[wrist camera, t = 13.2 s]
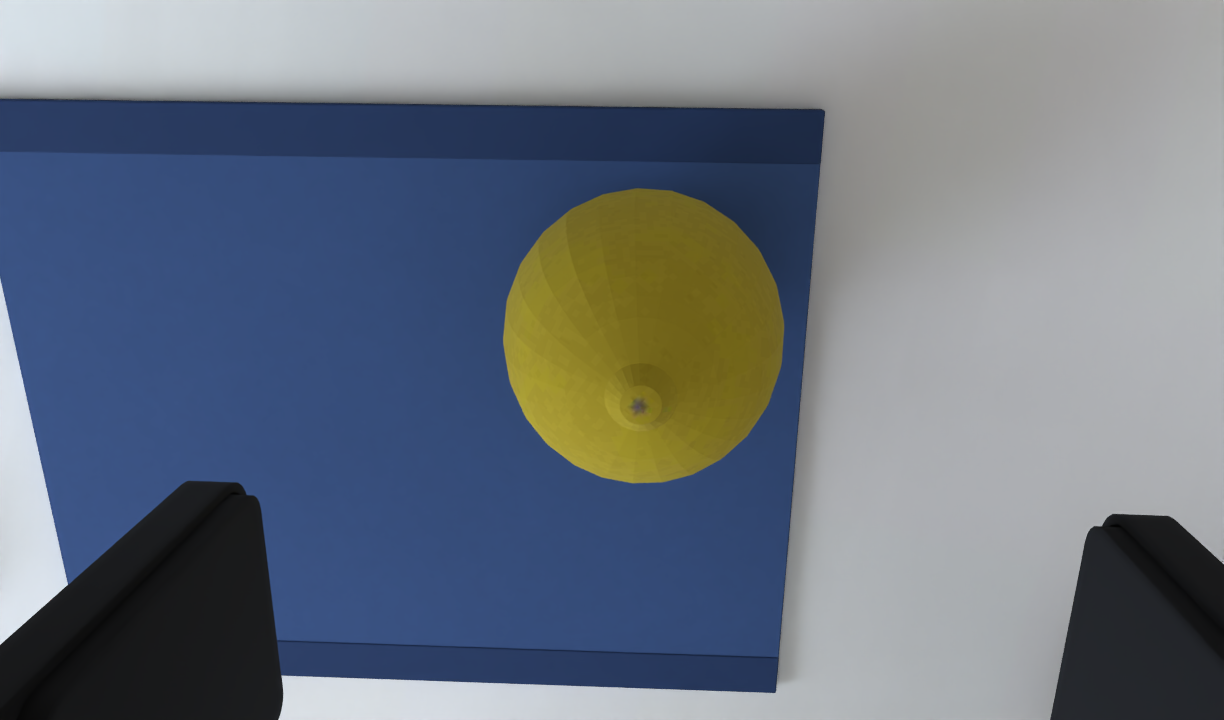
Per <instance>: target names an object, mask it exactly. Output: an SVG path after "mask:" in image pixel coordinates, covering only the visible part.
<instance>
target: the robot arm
mask: <svg viewBox="0 0 1224 720" xmlns="http://www.w3.org/2000/svg"><path fill="white" fill-rule="evenodd" d="M282 702H283V686H282V677H281V669H280V661H279V653H278V644H277V636H276V628H275V620H274V611H273V603H272V595H271V586H270V578H269V570H268V562H267V553H266V545H265V537H264V529H263V520H262V512H261V507H260V503H259V501H258V499H257V497H255V496H254V495H246V492H245V490H244V488H243V486H242V485H241V484H239V483H238V482H212V481H186V482H185V483H183V484H181V485H180V486H179V487H178V488H177V489H176V490H175V491H173V492H172V493H171V494H170V495H169V496H168V497H167V498H166V499H164V500H163V501H162V502H161V503H160V504H159V505H158V506H157V507H155V508H154V509H153V510H152V511H151V512H150V513H149V514H148V515H146V516H145V517H144V518H143V519H142V520H141V521H140V522H138V523H137V524H136V525H135V526H134V527H133V528H132V529H131V530H129V531H128V532H127V533H126V534H125V535H124V536H123V537H122V538H120V539H119V540H118V541H117V542H116V543H115V544H114V545H113V546H111V547H110V548H109V549H108V550H107V551H106V552H105V553H103V554H102V555H101V556H100V557H99V558H98V559H97V560H96V561H94V562H93V563H92V564H91V565H90V566H89V567H88V568H87V569H85V570H84V571H83V572H82V573H81V574H80V575H79V576H78V577H76V578H75V579H74V580H73V581H72V582H71V583H70V584H69V585H67V586H66V587H65V588H64V589H63V590H62V591H61V592H59V593H58V594H57V595H56V596H55V597H54V598H53V599H52V600H50V601H49V602H48V603H47V604H46V605H45V606H44V607H43V608H41V609H40V610H39V611H38V612H37V613H36V614H35V615H34V616H32V617H31V618H30V619H29V620H28V621H27V622H26V623H24V624H23V625H22V626H21V627H20V628H19V629H18V630H17V631H15V632H14V633H13V634H12V635H11V636H10V637H9V638H8V639H6V640H5V641H4V642H3V643H2V644H1V645H0V720H278V719H279V716H280V713H281V708H282ZM1050 720H1224V564H1223V563H1221V562H1220V561H1219V560H1218V559H1217V558H1216V557H1215V556H1214V555H1213V554H1212V553H1211V552H1209V551H1208V550H1207V549H1206V548H1205V547H1204V546H1203V545H1202V544H1201V543H1200V542H1199V541H1198V540H1196V539H1195V538H1194V537H1193V536H1192V535H1191V534H1190V533H1189V532H1188V531H1187V530H1186V529H1184V528H1183V527H1182V526H1181V525H1180V524H1179V523H1178V522H1177V521H1176V520H1174V519H1173V518H1171V517H1169V516H1154V515H1126V514H1112V515H1110V516H1109V517H1107V519H1106V520H1105V522H1104V523H1103V525H1102V527H1099V526H1094V527H1093V528H1091V529H1090V531H1089V532H1088V534H1087V537H1086V541H1085V545H1084V550H1083V556H1082V561H1081V566H1080V571H1079V576H1078V581H1077V586H1076V591H1075V597H1074V602H1073V607H1072V612H1071V617H1070V622H1069V627H1068V632H1067V638H1066V643H1065V648H1064V653H1063V658H1062V663H1061V668H1060V673H1059V679H1058V684H1057V689H1056V694H1055V699H1054V704H1053V709H1052V714H1051V719H1050Z"/></svg>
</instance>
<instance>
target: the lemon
mask: <svg viewBox="0 0 1224 720" xmlns="http://www.w3.org/2000/svg"><path fill="white" fill-rule="evenodd" d="M783 338H784V320H783V314H782V309H781V304H780V299H779V294H778V289H777V285H776V282H775V280H774V278H773V276H772V274H771V272H770V270H769V268H768V266H767V264H766V262H765V260H764V258H763V256H762V254H761V252H760V251H759V249H758V248H757V247H756V246H755V244H754V243H753V242H752V241H751V240H750V239H749V238H748V237H747V235H746V234H745V233H744V232H743V231H742V230H741V229H740V228H739V227H738V225H737V224H736V223H735V222H734V221H732V220H731V219H729V218H728V217H726V216H725V215H723V214H722V213H720V212H719V211H717V210H716V209H714V208H713V207H711V206H710V205H708V204H707V203H705V202H703V201H700V200H697V199H695V198H692V197H689V196H686V195H683V194H680V193H677V192H674V191H669V190H655V189H641V188H636V189H630V190H624V191H619V192H613V193H607V194H603V195H600V196H598V197H596V198H594V199H592V200H590V201H587V202H585V203H583V204H581V205H579V206H577V207H574V208H572V209H571V210H569V211H568V212H567V213H566V214H565V215H563V216H562V217H561V218H560V219H559V220H557V221H556V222H555V223H554V224H552V225H551V226H550V227H549V228H548V229H546V230H545V231H544V232H543V233H542V235H541V236H540V237H539V239H538V240H537V241H536V243H535V244H534V246H533V247H532V248H531V250H530V251H529V253H528V254H527V255H526V257H525V258H524V260H523V261H522V262H521V264H520V266H519V269H518V272H517V274H516V277H515V280H514V282H513V285H512V288H511V290H510V293H509V296H508V298H507V303H506V313H505V324H504V335H503V345H504V351H505V357H506V363H507V369H508V375H509V380H510V384H511V386H512V388H513V391H514V393H515V395H516V397H517V400H518V402H519V404H520V406H521V408H522V411H523V413H524V415H525V417H526V419H527V420H528V421H529V423H530V424H531V425H532V426H533V427H534V429H535V430H536V431H537V432H538V434H539V435H540V436H541V437H542V439H543V440H544V441H545V442H546V444H548V445H549V446H550V447H551V448H553V449H554V450H555V451H557V452H558V453H559V454H560V455H562V456H563V457H564V458H566V459H567V460H568V461H570V462H571V463H572V464H574V465H575V466H578V467H580V468H582V469H584V470H586V471H589V472H591V473H593V474H595V475H598V476H600V477H602V478H607V479H612V480H618V481H623V482H628V483H657V482H666V481H670V480H674V479H678V478H681V477H685V476H689V475H693V474H695V473H697V472H699V471H700V470H702V469H704V468H706V467H708V466H710V465H712V464H713V463H715V462H717V461H719V460H721V459H722V458H723V457H724V456H726V455H727V454H728V453H729V452H730V451H731V450H732V449H733V448H734V447H736V446H737V445H738V444H739V443H740V442H741V441H742V440H743V439H744V438H746V437H747V436H748V434H749V433H750V431H751V430H752V428H753V427H754V425H755V424H756V422H757V421H758V419H759V418H760V416H761V415H762V413H763V412H764V410H765V409H766V407H767V406H768V404H769V401H770V398H771V395H772V392H773V389H774V386H775V383H776V380H777V378H778V375H779V372H780V369H781V364H782V353H783Z"/></svg>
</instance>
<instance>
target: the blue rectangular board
mask: <svg viewBox="0 0 1224 720" xmlns="http://www.w3.org/2000/svg"><path fill="white" fill-rule="evenodd" d="M824 117H825V111H824V110H822V109H750V108H672V107H595V106H518V105H441V104H363V103H286V102H209V101H131V100H54V99H0V279H1V283H2V288H3V292H4V297H5V301H6V306H7V310H8V315H9V319H10V324H11V328H12V333H13V337H14V342H15V347H16V351H17V356H18V360H19V365H20V369H21V374H22V378H23V383H24V387H25V392H26V396H27V401H28V405H29V410H30V414H31V419H32V423H33V428H34V432H35V437H36V442H37V446H38V451H39V455H40V460H41V464H42V469H43V473H44V478H45V482H46V487H47V491H48V496H49V500H50V505H51V509H52V514H53V518H54V523H55V527H56V532H57V537H58V541H59V546H60V550H61V555H62V559H63V564H64V568H65V573H66V577H67V582H68V585H69V584H70V583H71V582H72V581H73V580H74V579H75V578H76V577H78V576H79V575H80V574H81V573H82V572H83V571H84V570H85V569H87V568H88V567H89V566H90V565H91V564H92V563H93V562H94V561H96V560H97V559H98V558H99V557H100V556H101V555H102V554H103V553H105V552H106V551H107V550H108V549H109V548H110V547H111V546H113V545H114V544H115V543H116V542H117V541H118V540H119V539H120V538H122V537H123V536H124V535H125V534H126V533H127V532H128V531H129V530H131V529H132V528H133V527H134V526H135V525H136V524H137V523H138V522H140V521H141V520H142V519H143V518H144V517H145V516H146V515H148V514H149V513H150V512H151V511H152V510H153V509H154V508H155V507H157V506H158V505H159V504H160V503H161V502H162V501H163V500H164V499H166V498H167V497H168V496H169V495H170V494H171V493H172V492H173V491H175V490H176V489H177V488H178V487H179V486H180V485H181V484H183V483H185V482H186V481H212V482H238V483H239V484H241V485H242V486H243V488H244V490H245V492H246V495H254V496H255V497H257V499H258V501H259V503H260V507H261V512H262V520H263V529H264V537H265V545H266V553H267V562H268V570H269V578H270V586H271V595H272V603H273V611H274V620H275V628H276V636H277V644H278V653H279V661H280V669H281V675H284V676H313V677H341V678H369V679H397V680H426V681H454V682H482V683H510V684H539V685H567V686H595V687H624V688H652V689H680V690H708V691H737V692H765V693H775V692H776V684H777V673H778V661H779V646H780V634H781V622H782V611H783V599H784V587H785V575H786V563H787V552H788V540H789V528H790V516H791V504H792V492H793V481H794V469H795V457H796V445H797V433H798V421H799V410H800V398H801V386H802V374H803V362H804V350H805V339H806V327H807V315H808V303H809V291H810V279H811V268H812V256H813V244H814V232H815V220H816V208H817V197H818V185H819V173H820V163H821V153H822V141H823V129H824ZM636 188H641V189H655V190H669V191H674V192H677V193H680V194H683V195H686V196H689V197H692V198H695V199H697V200H700V201H703V202H705V203H707V204H708V205H710V206H711V207H713V208H714V209H716V210H717V211H719V212H720V213H722V214H723V215H725V216H726V217H728V218H729V219H731V220H732V221H734V222H735V223H736V224H737V225H738V227H739V228H740V229H741V230H742V231H743V232H744V233H745V234H746V235H747V237H748V238H749V239H750V240H751V241H752V242H753V243H754V244H755V246H756V247H757V248H758V249H759V251H760V252H761V254H762V256H763V258H764V260H765V262H766V264H767V266H768V268H769V270H770V272H771V274H772V276H773V278H774V280H775V282H776V285H777V289H778V294H779V299H780V304H781V309H782V314H783V320H784V338H783V353H782V364H781V369H780V372H779V375H778V378H777V380H776V383H775V386H774V389H773V392H772V395H771V398H770V401H769V404H768V406H767V407H766V409H765V410H764V412H763V413H762V415H761V416H760V418H759V419H758V421H757V422H756V424H755V425H754V427H753V428H752V430H751V431H750V433H749V434H748V436H747V437H746V438H744V439H743V440H742V441H741V442H740V443H739V444H738V445H737V446H736V447H734V448H733V449H732V450H731V451H730V452H729V453H728V454H727V455H726V456H724V457H723V458H722V459H721V460H719V461H717V462H715V463H713V464H712V465H710V466H708V467H706V468H704V469H702V470H700V471H699V472H697V473H695V474H693V475H689V476H685V477H681V478H678V479H674V480H670V481H666V482H657V483H628V482H623V481H618V480H612V479H607V478H602V477H600V476H598V475H595V474H593V473H591V472H589V471H586V470H584V469H582V468H580V467H578V466H575V465H574V464H572V463H571V462H570V461H568V460H567V459H566V458H564V457H563V456H562V455H560V454H559V453H558V452H557V451H555V450H554V449H553V448H551V447H550V446H549V445H548V444H546V442H545V441H544V440H543V439H542V437H541V436H540V435H539V434H538V432H537V431H536V430H535V429H534V427H533V426H532V425H531V424H530V423H529V421H528V420H527V419H526V417H525V415H524V413H523V411H522V408H521V406H520V404H519V402H518V400H517V397H516V395H515V393H514V391H513V388H512V386H511V384H510V380H509V375H508V369H507V363H506V357H505V351H504V345H503V335H504V324H505V313H506V303H507V298H508V296H509V293H510V290H511V288H512V285H513V282H514V280H515V277H516V274H517V272H518V269H519V266H520V264H521V262H522V261H523V260H524V258H525V257H526V255H527V254H528V253H529V251H530V250H531V248H532V247H533V246H534V244H535V243H536V241H537V240H538V239H539V237H540V236H541V235H542V233H543V232H544V231H545V230H546V229H548V228H549V227H550V226H551V225H552V224H554V223H555V222H556V221H557V220H559V219H560V218H561V217H562V216H563V215H565V214H566V213H567V212H568V211H569V210H571V209H572V208H574V207H577V206H579V205H581V204H583V203H585V202H587V201H590V200H592V199H594V198H596V197H598V196H600V195H603V194H607V193H613V192H619V191H624V190H630V189H636Z"/></svg>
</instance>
